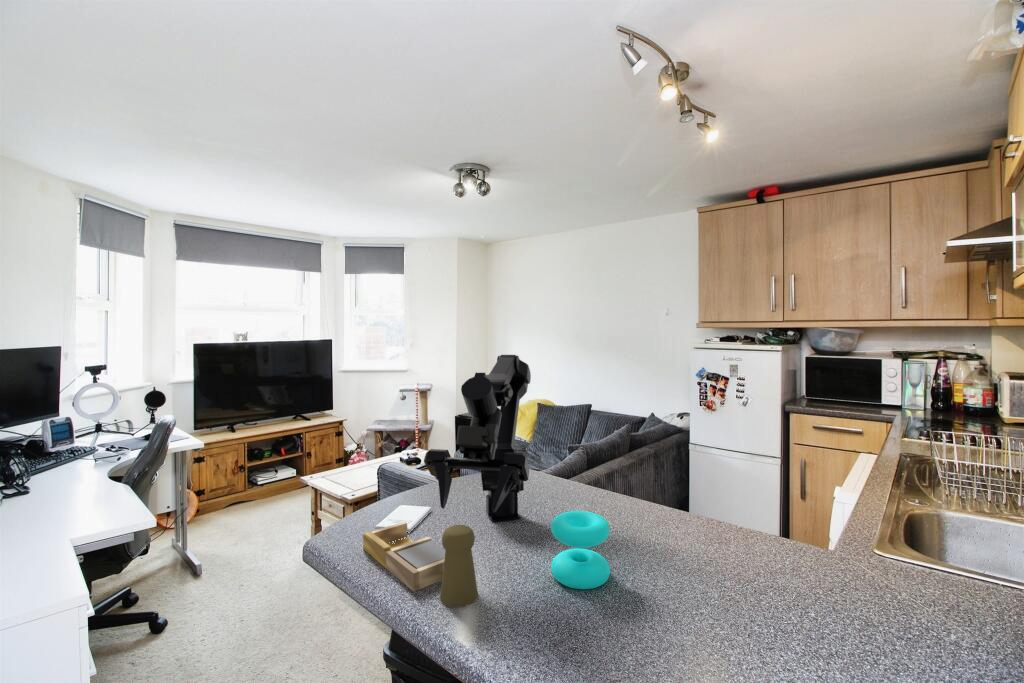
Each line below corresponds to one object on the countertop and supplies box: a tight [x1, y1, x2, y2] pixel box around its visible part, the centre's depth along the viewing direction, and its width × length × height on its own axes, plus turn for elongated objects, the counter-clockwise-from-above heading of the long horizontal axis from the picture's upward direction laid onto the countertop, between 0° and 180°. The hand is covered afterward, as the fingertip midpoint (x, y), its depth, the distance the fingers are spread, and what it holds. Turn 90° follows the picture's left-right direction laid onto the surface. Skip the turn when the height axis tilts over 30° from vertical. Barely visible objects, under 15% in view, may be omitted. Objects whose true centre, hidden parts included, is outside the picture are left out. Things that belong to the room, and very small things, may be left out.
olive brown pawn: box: [439, 524, 479, 608], centre depth 75 cm, size 6×6×11 cm
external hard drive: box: [374, 504, 433, 533], centre depth 106 cm, size 2×8×12 cm
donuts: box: [550, 510, 611, 590], centre depth 80 cm, size 10×10×10 cm
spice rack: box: [362, 522, 445, 592], centre depth 87 cm, size 9×20×4 cm, turn 40°
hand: (467, 509), depth 80 cm, fingers open, 9 cm apart
